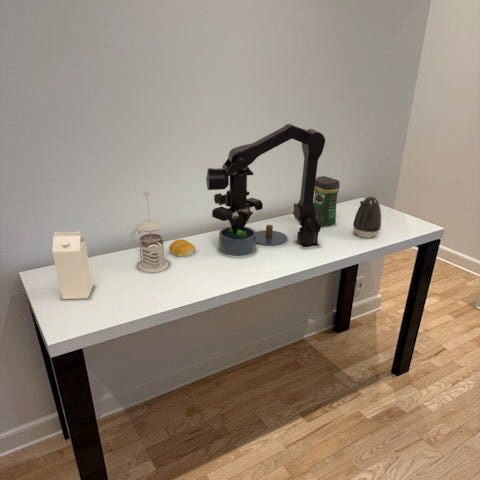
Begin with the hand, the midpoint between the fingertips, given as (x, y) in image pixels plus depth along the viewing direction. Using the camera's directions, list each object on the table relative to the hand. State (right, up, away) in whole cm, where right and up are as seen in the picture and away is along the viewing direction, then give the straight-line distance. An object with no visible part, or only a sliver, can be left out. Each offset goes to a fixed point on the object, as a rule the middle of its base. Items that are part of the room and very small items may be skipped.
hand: (237, 232), depth 154 cm
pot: (0, -6, +3) cm, 7 cm away
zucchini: (-1, -1, +1) cm, 1 cm away
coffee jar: (+35, +7, +28) cm, 45 cm away
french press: (-28, -12, -8) cm, 32 cm away
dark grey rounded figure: (+49, +1, +16) cm, 51 cm away
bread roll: (-19, -7, +1) cm, 21 cm away
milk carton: (-46, -21, -25) cm, 56 cm away
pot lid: (+12, -1, +11) cm, 16 cm away
